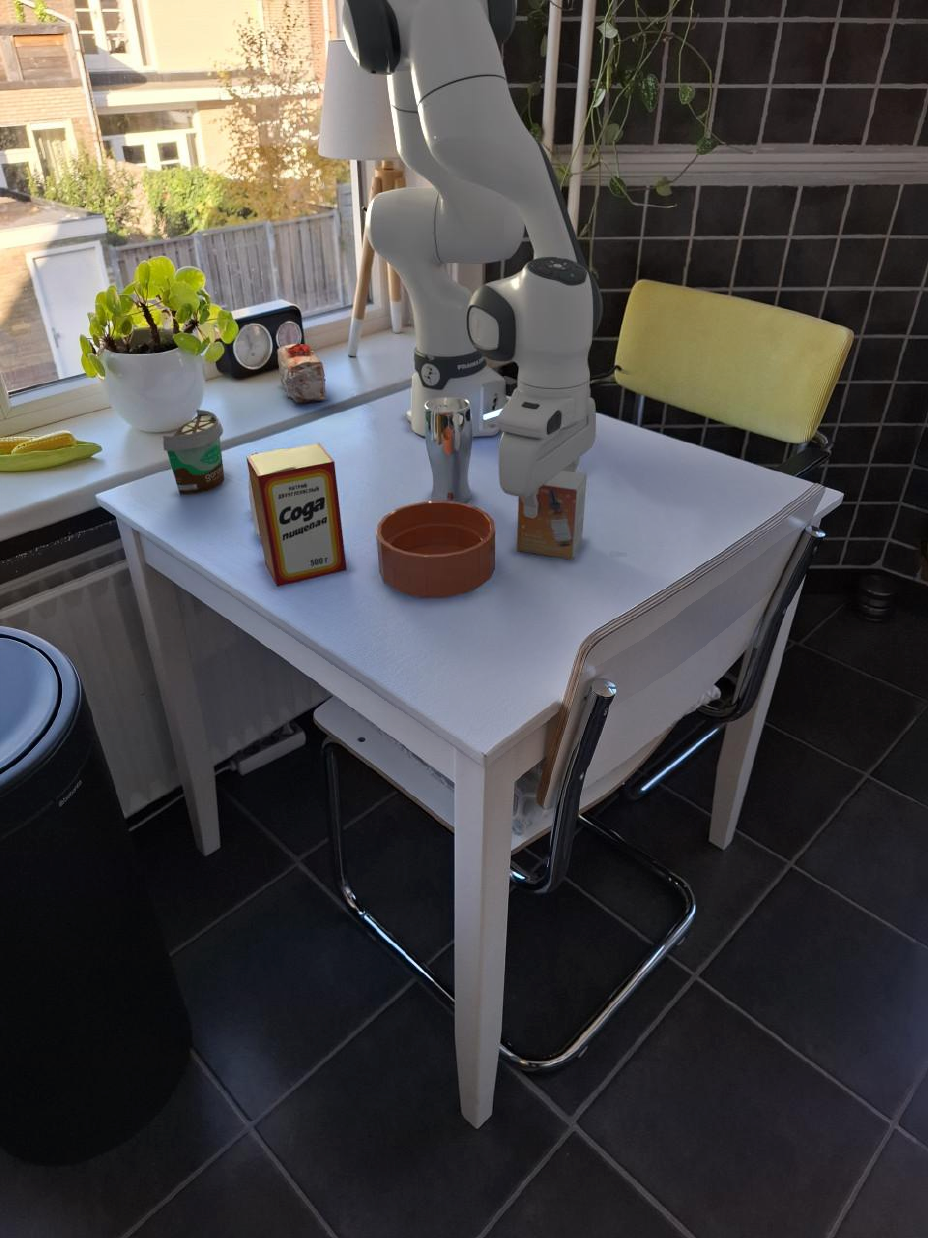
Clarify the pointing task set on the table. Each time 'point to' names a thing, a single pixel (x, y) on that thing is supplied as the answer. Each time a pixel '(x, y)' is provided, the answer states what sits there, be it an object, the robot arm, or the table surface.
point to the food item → (301, 373)
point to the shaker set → (253, 507)
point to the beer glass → (449, 447)
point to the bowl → (436, 548)
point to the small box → (555, 517)
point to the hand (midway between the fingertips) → (549, 501)
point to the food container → (196, 454)
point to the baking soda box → (298, 513)
